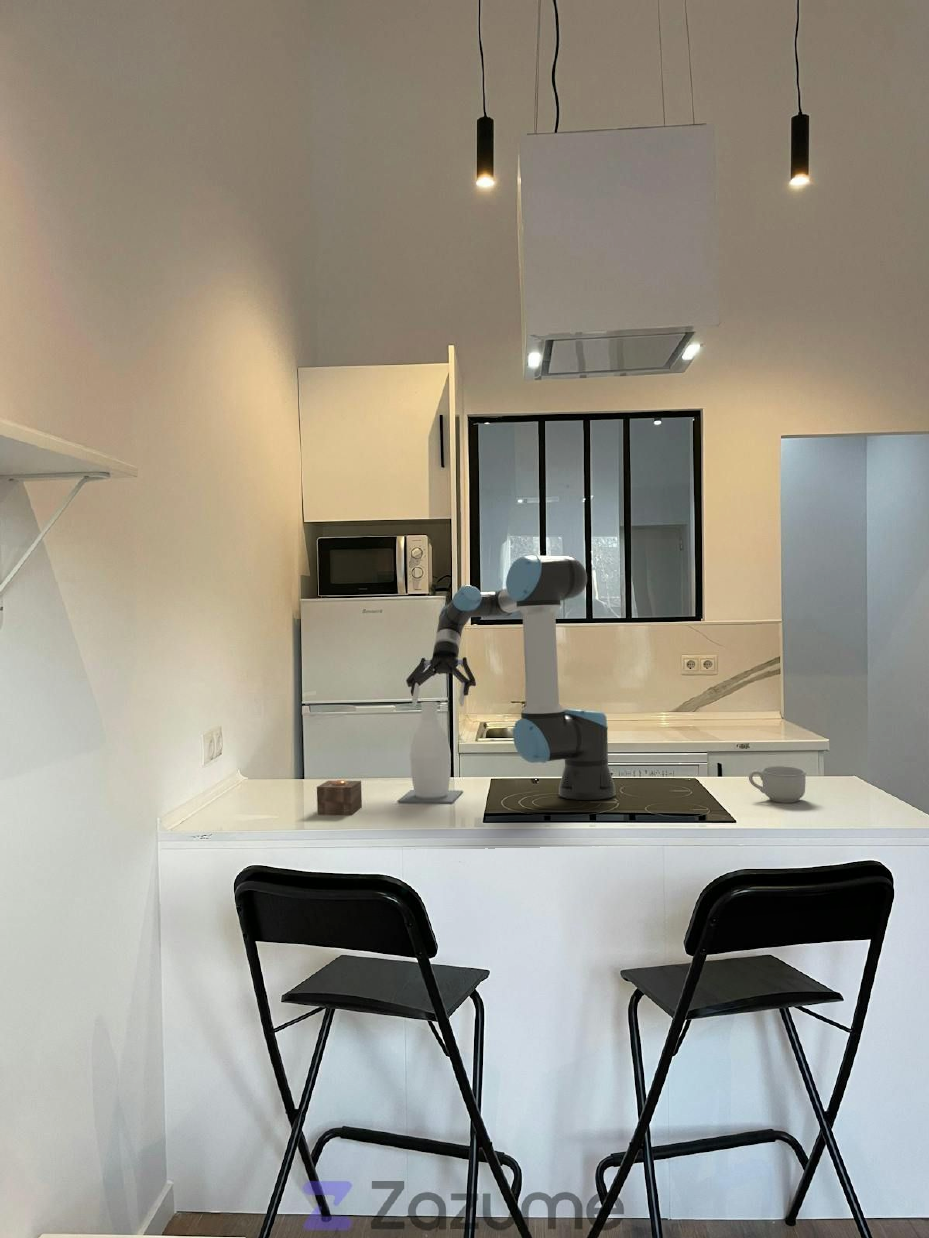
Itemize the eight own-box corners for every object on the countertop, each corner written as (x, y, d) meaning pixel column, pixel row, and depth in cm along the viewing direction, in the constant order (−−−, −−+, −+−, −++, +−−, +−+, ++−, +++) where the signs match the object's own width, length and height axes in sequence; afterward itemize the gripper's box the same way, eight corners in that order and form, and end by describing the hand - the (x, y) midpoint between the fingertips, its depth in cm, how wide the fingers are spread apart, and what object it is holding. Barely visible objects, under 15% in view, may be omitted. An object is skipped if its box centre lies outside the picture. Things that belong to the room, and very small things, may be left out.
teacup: (808, 797, 248) (807, 766, 248) (804, 806, 238) (803, 774, 238) (753, 794, 254) (752, 764, 254) (746, 802, 244) (746, 771, 244)
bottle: (402, 797, 260) (400, 703, 259) (427, 790, 269) (425, 699, 269) (435, 801, 253) (432, 705, 253) (459, 793, 262) (457, 701, 262)
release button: (350, 801, 249) (349, 780, 249) (345, 805, 245) (344, 783, 245) (334, 801, 250) (333, 779, 250) (328, 804, 245) (328, 783, 245)
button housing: (361, 807, 251) (361, 780, 251) (351, 814, 242) (350, 787, 242) (329, 806, 253) (328, 780, 252) (317, 814, 244) (316, 786, 244)
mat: (463, 792, 267) (463, 790, 267) (452, 803, 252) (452, 801, 252) (410, 792, 270) (410, 789, 270) (397, 803, 255) (397, 800, 255)
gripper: (489, 655, 286) (482, 711, 272) (408, 657, 291) (397, 712, 276) (486, 638, 281) (479, 694, 267) (403, 640, 286) (392, 695, 271)
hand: (437, 703), depth 271 cm, fingers open, 13 cm apart
